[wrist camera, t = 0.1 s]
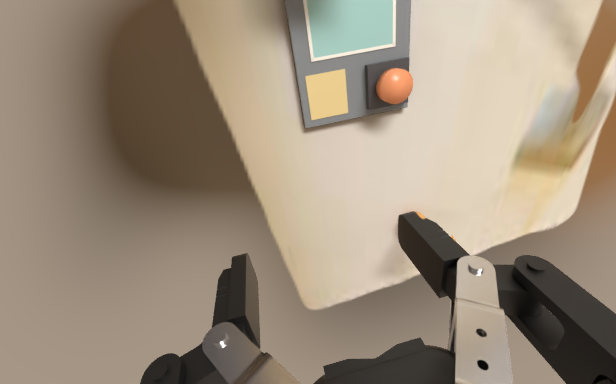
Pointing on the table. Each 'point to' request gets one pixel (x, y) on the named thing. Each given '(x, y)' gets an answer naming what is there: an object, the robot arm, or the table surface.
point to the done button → (394, 85)
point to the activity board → (346, 54)
